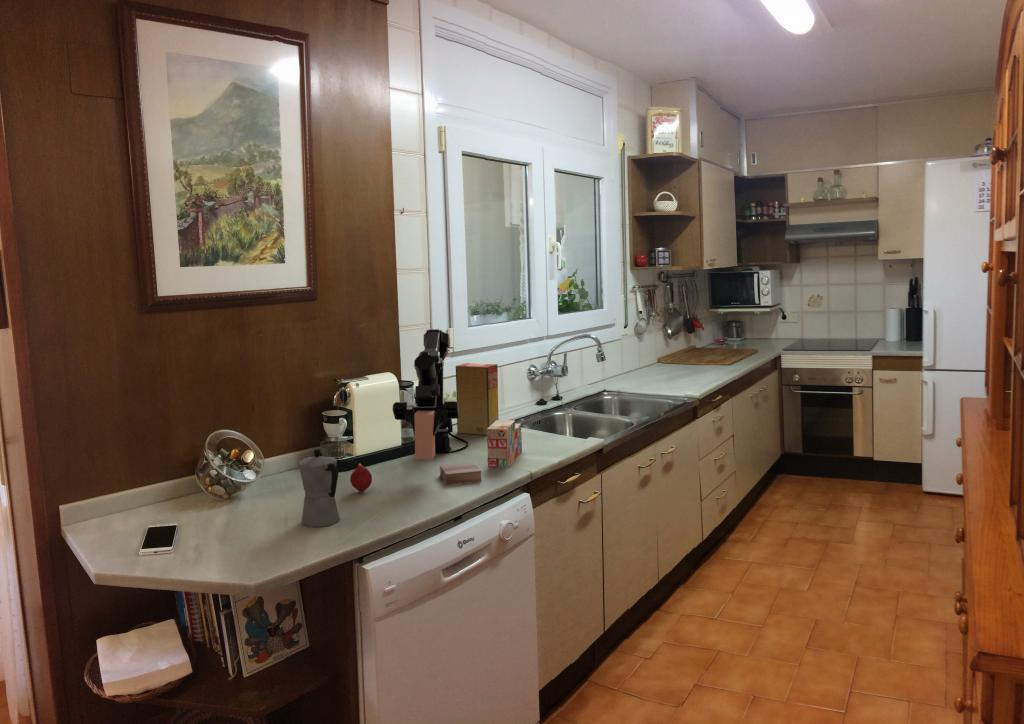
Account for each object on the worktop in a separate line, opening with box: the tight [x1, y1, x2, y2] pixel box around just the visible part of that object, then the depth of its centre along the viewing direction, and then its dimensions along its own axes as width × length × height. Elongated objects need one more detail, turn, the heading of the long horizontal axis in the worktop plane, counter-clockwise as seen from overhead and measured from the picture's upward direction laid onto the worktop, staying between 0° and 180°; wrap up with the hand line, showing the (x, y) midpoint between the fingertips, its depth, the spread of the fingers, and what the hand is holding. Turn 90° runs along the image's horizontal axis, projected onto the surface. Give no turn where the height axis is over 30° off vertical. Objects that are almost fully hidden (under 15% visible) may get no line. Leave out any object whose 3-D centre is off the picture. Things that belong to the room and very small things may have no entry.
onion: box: [349, 463, 373, 493], centre depth 206 cm, size 6×6×8 cm
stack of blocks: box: [486, 419, 523, 468], centre depth 238 cm, size 21×6×12 cm, turn 167°
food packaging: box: [455, 362, 500, 437], centre depth 276 cm, size 13×9×25 cm
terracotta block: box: [414, 411, 436, 460], centre depth 215 cm, size 5×5×13 cm
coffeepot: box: [297, 448, 341, 528], centre depth 182 cm, size 15×9×18 cm, turn 43°
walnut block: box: [439, 461, 482, 486], centre depth 218 cm, size 10×10×4 cm
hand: (424, 435), depth 214 cm, fingers closed on terracotta block, 5 cm apart
